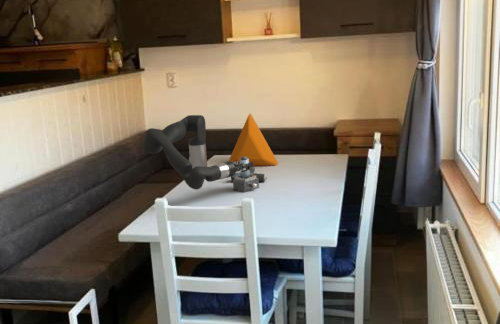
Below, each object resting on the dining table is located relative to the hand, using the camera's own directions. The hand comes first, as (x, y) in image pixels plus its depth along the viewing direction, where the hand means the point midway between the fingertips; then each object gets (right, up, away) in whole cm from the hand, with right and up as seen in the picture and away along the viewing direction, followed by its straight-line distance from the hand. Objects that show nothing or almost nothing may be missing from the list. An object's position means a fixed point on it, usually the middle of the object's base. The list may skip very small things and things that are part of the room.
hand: (248, 163), depth 274 cm
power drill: (+2, -8, +21) cm, 23 cm away
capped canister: (-2, -8, 0) cm, 8 cm away
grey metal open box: (0, -13, 0) cm, 13 cm away
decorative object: (+2, -1, +51) cm, 51 cm away
